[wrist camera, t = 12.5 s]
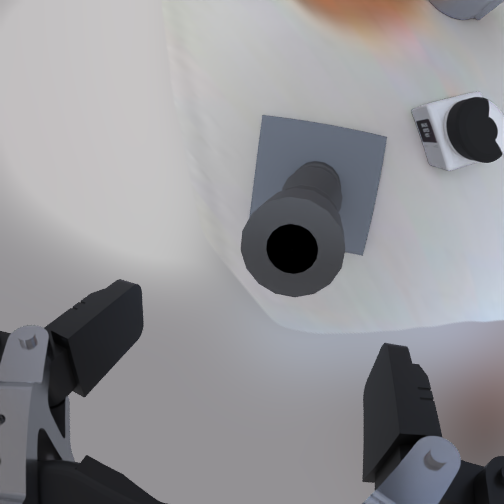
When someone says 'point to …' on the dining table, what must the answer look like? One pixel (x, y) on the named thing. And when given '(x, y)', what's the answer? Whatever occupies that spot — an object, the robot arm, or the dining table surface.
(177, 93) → the dining table surface
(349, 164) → the mat
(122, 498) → the robot arm
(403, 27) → the dining table surface
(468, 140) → the container
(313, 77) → the dining table surface
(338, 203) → the candle holder
